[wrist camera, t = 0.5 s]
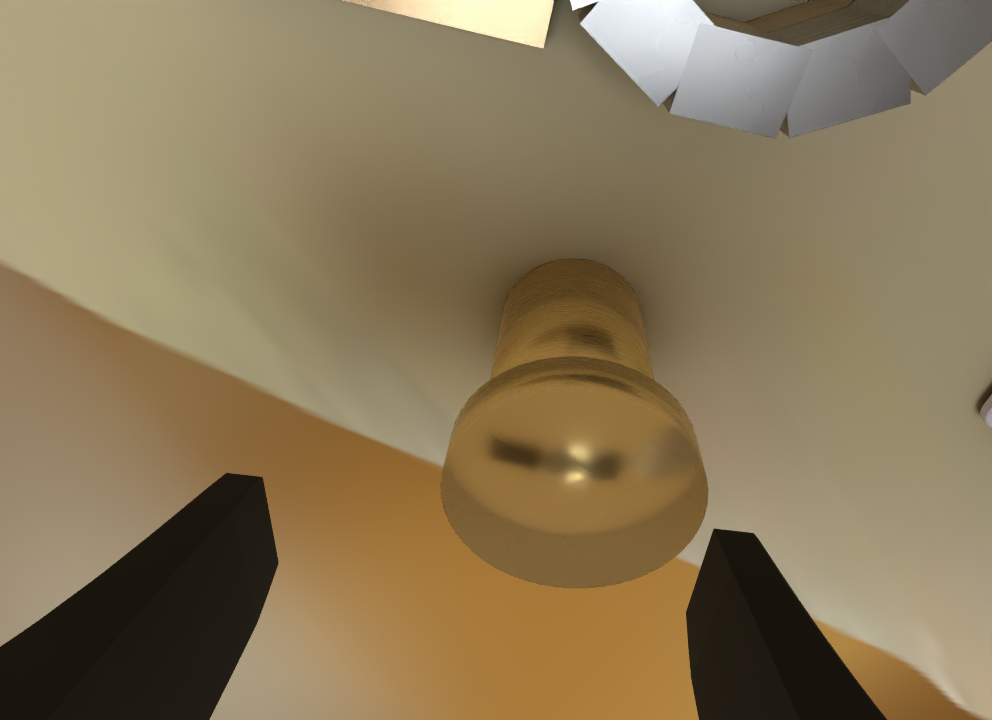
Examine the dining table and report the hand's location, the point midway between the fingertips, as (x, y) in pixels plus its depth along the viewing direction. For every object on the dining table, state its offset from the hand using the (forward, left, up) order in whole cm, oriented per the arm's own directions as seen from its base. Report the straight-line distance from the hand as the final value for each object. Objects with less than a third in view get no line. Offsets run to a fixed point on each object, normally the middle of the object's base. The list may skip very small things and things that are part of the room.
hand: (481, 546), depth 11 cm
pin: (-2, +1, -9) cm, 10 cm away
